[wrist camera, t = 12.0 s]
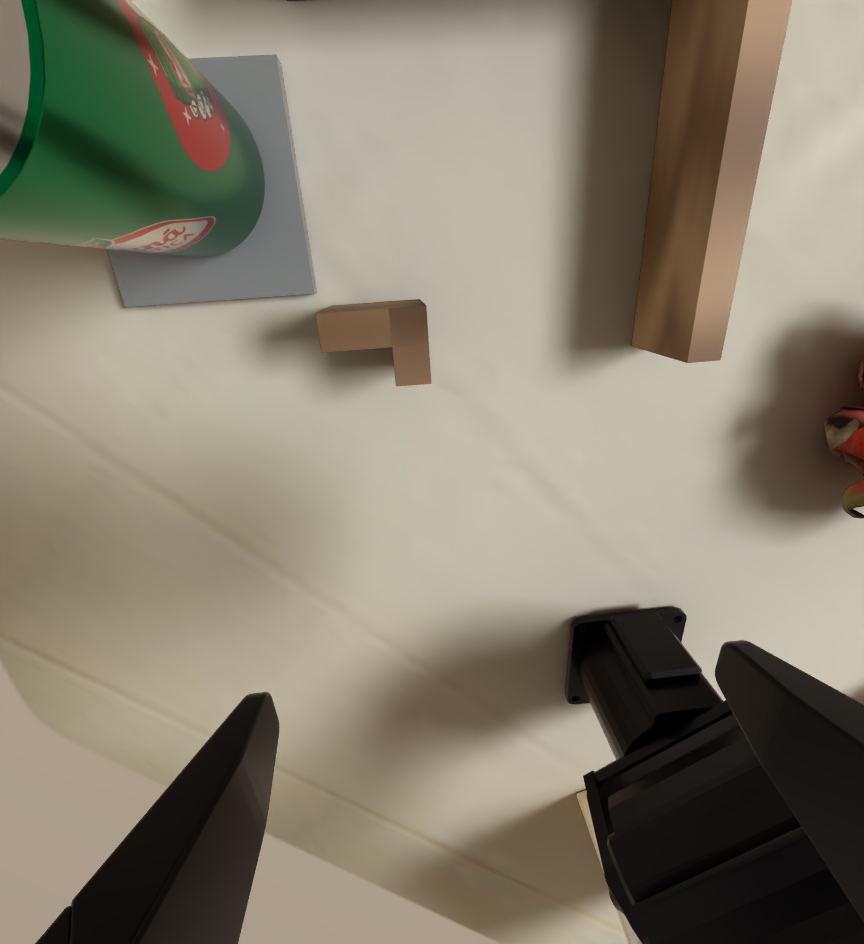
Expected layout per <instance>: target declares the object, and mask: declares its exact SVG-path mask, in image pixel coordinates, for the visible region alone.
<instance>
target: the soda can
mask: <svg viewBox="0 0 864 944" xmlns="http://www.w3.org/2000/svg"><path fill="white" fill-rule="evenodd" d="M264 194H265V177H264V170H263V164H262V159H261V156H260V153H259V150H258V146H257V144H256V142H255V140H254V138H253V135H252V133H251V131H250V130H249V128H248V126H247V125H246V123H245V121H244V120H243V118H242V117H241V116H240V115H239V113H238V112H237V111H236V110H235V108H234V107H233V106H232V105H231V104H230V103H229V102H228V101H227V100H226V99H225V98H224V97H223V95H222V94H221V93H220V92H219V91H218V90H217V89H216V88H215V87H214V86H213V85H212V84H211V83H210V82H209V81H208V80H207V79H206V78H205V77H204V76H203V75H202V74H201V73H200V72H199V70H198V69H197V68H196V67H195V66H194V65H193V64H192V63H191V62H190V61H189V60H188V59H187V58H186V57H185V56H184V55H183V54H182V53H181V52H180V51H179V50H178V49H177V48H176V47H175V45H174V44H173V43H172V42H171V41H170V40H169V39H168V38H167V37H166V36H165V35H164V34H163V33H162V32H161V31H160V30H159V29H158V28H157V27H156V26H155V25H154V24H153V23H152V22H151V20H150V19H149V18H148V17H147V16H146V15H145V14H144V13H143V12H142V11H141V10H140V9H139V8H138V7H137V6H136V5H135V4H134V3H133V2H132V1H131V0H0V239H5V240H15V241H26V242H37V243H48V244H59V245H70V246H81V247H92V248H102V249H113V250H124V251H135V252H146V253H157V254H168V255H179V256H189V257H212V256H216V255H220V254H223V253H226V252H228V251H230V250H232V249H234V248H235V247H237V246H238V245H239V244H241V243H242V242H243V241H244V240H245V239H246V238H247V237H248V236H249V235H250V233H251V232H252V230H253V229H254V227H255V226H256V223H257V221H258V219H259V217H260V214H261V210H262V207H263V203H264Z"/></svg>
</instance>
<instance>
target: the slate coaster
mask: <svg viewBox="0 0 864 944" xmlns="http://www.w3.org/2000/svg"><path fill="white" fill-rule="evenodd" d="M188 60H189V61H190V62H191V63H192V64H193V65H194V66H195V67H196V68H197V69H198V70H199V72H200V73H201V74H202V75H203V76H204V77H205V78H206V79H207V80H208V81H209V82H210V83H211V84H212V85H213V86H214V87H215V88H216V89H217V90H218V91H219V92H220V93H221V94H222V95H223V97H224V98H225V99H226V100H227V101H228V102H229V103H230V104H231V105H232V106H233V107H234V108H235V110H236V111H237V112H238V113H239V115H240V116H241V117H242V118H243V120H244V121H245V123H246V125H247V126H248V128H249V130H250V131H251V133H252V135H253V138H254V140H255V142H256V144H257V146H258V150H259V153H260V156H261V159H262V164H263V170H264V177H265V194H264V203H263V207H262V210H261V214H260V217H259V219H258V221H257V223H256V226H255V227H254V229H253V230H252V232H251V233H250V235H249V236H248V237H247V238H246V239H245V240H244V241H243V242H242V243H241V244H239V245H238V246H237V247H235V248H234V249H232V250H230V251H228V252H226V253H223V254H220V255H216V256H212V257H189V256H179V255H168V254H157V253H146V252H135V251H124V250H113V249H107V252H108V256H109V259H110V262H111V265H112V268H113V271H114V274H115V277H116V280H117V283H118V286H119V289H120V292H121V295H122V299H123V302H124V305H125V307H134V306H148V305H162V304H176V303H190V302H204V301H218V300H232V299H246V298H260V297H274V296H288V295H303V294H315V293H317V290H316V283H315V277H314V271H313V264H312V258H311V252H310V245H309V239H308V233H307V226H306V220H305V214H304V207H303V201H302V195H301V188H300V182H299V176H298V169H297V163H296V157H295V150H294V144H293V138H292V131H291V125H290V119H289V112H288V106H287V100H286V93H285V87H284V81H283V74H282V68H281V63H280V61H279V59H278V57H277V55H259V56H238V57H217V58H196V59H188Z"/></svg>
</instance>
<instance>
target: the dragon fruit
mask: <svg viewBox="0 0 864 944" xmlns="http://www.w3.org/2000/svg"><path fill="white" fill-rule="evenodd" d="M857 376H858V377H859V382H860V386H861V389H862V388H863V384H864V360H863V361H862V362H861V365H860V372H859V374H858V375H857ZM841 409H847V410H842V411H840V412H838V413H835V414H833V415H832V416H830V417H828V419H827V420H826V421H825V424H824V428H825V432H826V435H827V441H828V445H829V452H831V453H833V454H835V456H836V458H837V459H839V460H840V461H843V462H850V463H851V464H852V465H854V466H855V467H856V468H857V469H858V470H859V471H860V472H861V473H862V474H863V475H864V407H857V406H845V407H841ZM862 506H864V480H862V481H859V482H856V483H854V484H852V485H850V486H849V487H848V488H847V489H846V491H845V492H844V495H843V498H842V507H843V509H844V510H845V512H846V513H848V514H849V515H851V516H852V517H854V518H864V515H863V514H861V513H859V512H857V511H855V510H853V508H855V507H862Z"/></svg>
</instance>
